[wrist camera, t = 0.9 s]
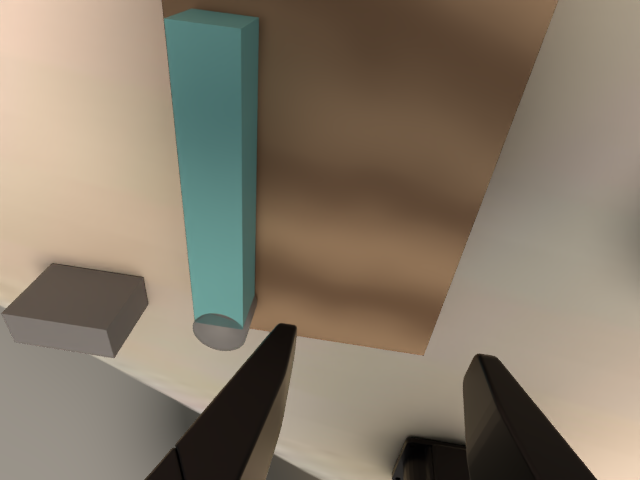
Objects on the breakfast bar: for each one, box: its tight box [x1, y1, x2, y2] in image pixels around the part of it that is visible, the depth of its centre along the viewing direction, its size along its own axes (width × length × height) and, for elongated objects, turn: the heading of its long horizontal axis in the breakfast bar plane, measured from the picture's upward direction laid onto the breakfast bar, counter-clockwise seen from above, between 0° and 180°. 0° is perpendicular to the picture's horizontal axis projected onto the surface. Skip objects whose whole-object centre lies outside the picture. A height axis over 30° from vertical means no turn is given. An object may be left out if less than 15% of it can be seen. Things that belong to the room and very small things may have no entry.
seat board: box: [162, 0, 558, 356], centre depth 20 cm, size 20×14×2 cm
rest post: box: [1, 264, 148, 358], centre depth 26 cm, size 2×6×4 cm, turn 84°
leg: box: [164, 9, 259, 351], centre depth 19 cm, size 16×3×2 cm, turn 174°
